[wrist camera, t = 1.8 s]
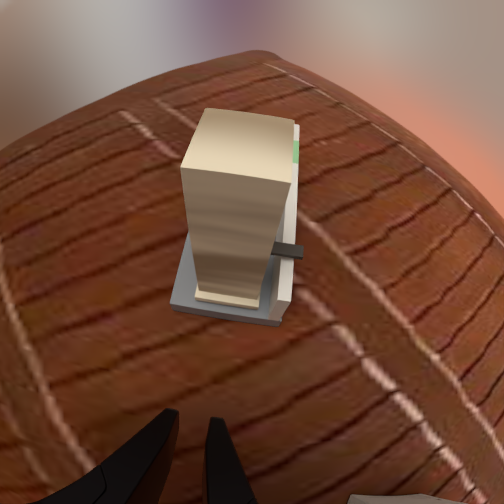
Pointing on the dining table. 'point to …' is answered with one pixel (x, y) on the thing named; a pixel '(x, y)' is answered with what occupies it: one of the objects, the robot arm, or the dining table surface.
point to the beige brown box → (237, 202)
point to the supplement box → (399, 499)
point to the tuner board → (274, 281)
